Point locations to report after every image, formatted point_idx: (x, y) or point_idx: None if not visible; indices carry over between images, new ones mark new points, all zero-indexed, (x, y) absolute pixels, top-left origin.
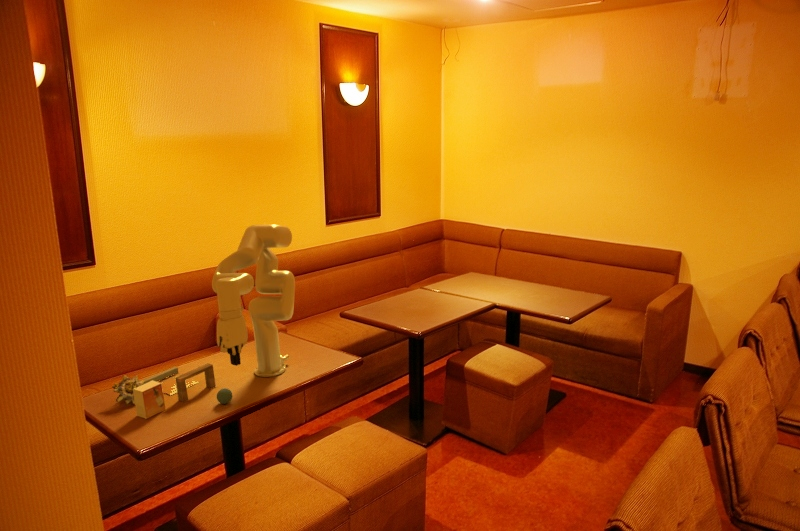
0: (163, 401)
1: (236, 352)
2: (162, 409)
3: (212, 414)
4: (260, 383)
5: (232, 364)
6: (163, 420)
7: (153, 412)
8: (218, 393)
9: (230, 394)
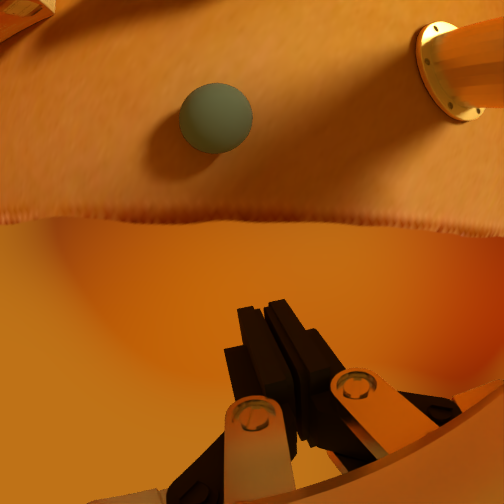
0: (37, 4)
1: (315, 439)
2: (42, 16)
3: (127, 170)
4: (394, 105)
5: (240, 324)
6: (12, 85)
7: (11, 30)
8: (187, 111)
9: (231, 147)
